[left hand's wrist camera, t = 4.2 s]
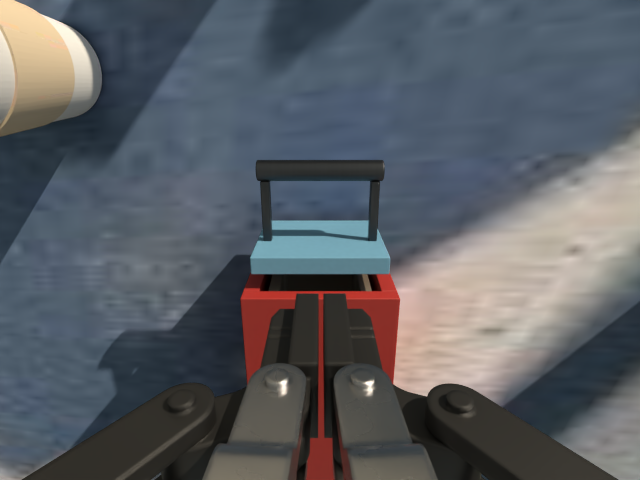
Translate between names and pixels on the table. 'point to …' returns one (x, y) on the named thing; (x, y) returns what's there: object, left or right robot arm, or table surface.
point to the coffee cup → (43, 70)
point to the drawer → (320, 232)
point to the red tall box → (265, 304)
